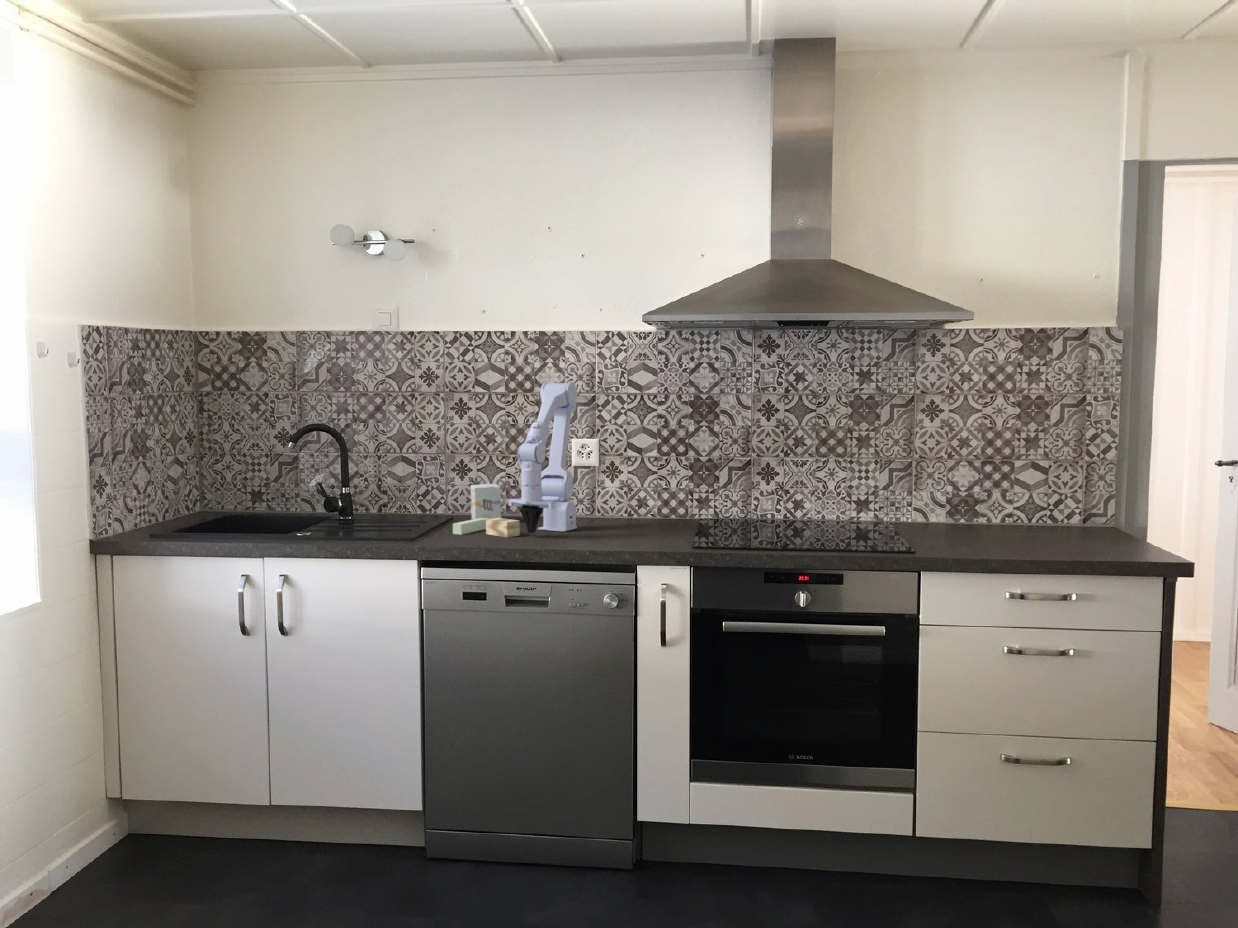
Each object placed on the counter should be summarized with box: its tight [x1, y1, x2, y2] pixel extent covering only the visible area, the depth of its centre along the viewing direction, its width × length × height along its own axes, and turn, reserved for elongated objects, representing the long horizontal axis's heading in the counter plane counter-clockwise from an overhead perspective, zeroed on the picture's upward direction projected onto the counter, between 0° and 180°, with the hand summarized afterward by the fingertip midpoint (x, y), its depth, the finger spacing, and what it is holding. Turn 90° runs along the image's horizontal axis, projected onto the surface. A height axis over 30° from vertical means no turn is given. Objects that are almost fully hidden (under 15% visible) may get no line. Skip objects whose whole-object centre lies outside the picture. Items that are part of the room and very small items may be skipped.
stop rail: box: [452, 518, 489, 536], centre depth 292 cm, size 3×14×3 cm, turn 152°
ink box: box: [470, 483, 502, 520], centre depth 310 cm, size 9×9×12 cm
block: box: [485, 517, 521, 538], centre depth 286 cm, size 9×5×4 cm, turn 50°
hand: (531, 532), depth 281 cm, fingers closed
